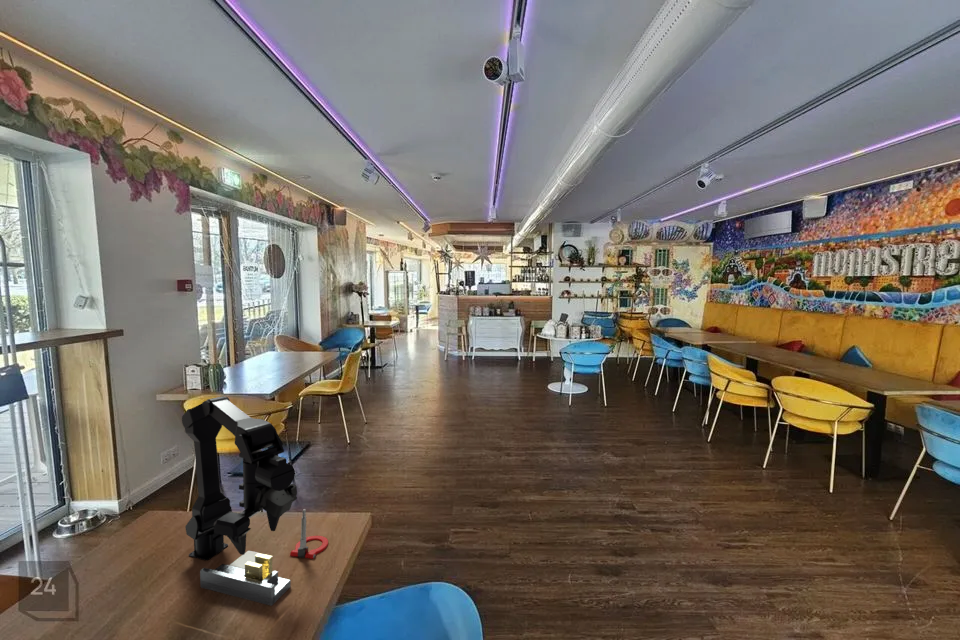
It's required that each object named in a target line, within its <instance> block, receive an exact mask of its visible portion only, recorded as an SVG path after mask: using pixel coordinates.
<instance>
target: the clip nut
mask: <svg viewBox="0 0 960 640" xmlns="http://www.w3.org/2000/svg"><path fill="white" fill-rule="evenodd" d="M259 553H260V552H258V554H257V555H256V556H255V563H253V562H249V561H248V562H247V563H246V564H245V577H247V578H251V579H255V580H258V581H263V580H264V579H265V578H266V577H267V576H268V575H269V574H270V573H272V572H273V557H272V556H273V555H271V556H268V555H269V554H267V555H263V554H264V553H262V554H259Z"/></svg>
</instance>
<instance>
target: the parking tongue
mask: <svg viewBox="0 0 960 640" xmlns="http://www.w3.org/2000/svg"><path fill="white" fill-rule="evenodd" d="M258 553H259V554H263V555H268V556H272V558H273V557H274V555H271V554H266V553H261V552H257V551H254V550H253V551H252V550H247V551H245V554H244V555H241V556H239V557H238V558H237V559H235V560H234V561H232V562H231V563H230V564H229V565H230V566H234V567H238V568H242V569H245V564H246V563H247V562H248V561H249V562H253V563H255V556H256V555H257V554H258Z"/></svg>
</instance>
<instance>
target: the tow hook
mask: <svg viewBox="0 0 960 640" xmlns="http://www.w3.org/2000/svg"><path fill="white" fill-rule="evenodd" d="M306 511H307V509H306V508H303V509H302V514H301V515H302V516H301V526H300V529H301V530H300V539H299V541H298V542H297V543H296V544H295V549H292V550H291V551H290V553H289V555H290V556H291V557H297V558H303V559H311V560H314V559H315V557H316V556H317V555H318V554H319V553H322V552H323V551H325V550H326V549H327V547H328V546H329V540H328V538H327V537H325V536H323V535H310V536H307V517H306V515H307V513H306ZM310 541H320V542H321V543H322V544H321V545H320V546H319V547H317V548H314V549H310V550H309V546H307V542H310Z"/></svg>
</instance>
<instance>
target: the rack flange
mask: <svg viewBox="0 0 960 640" xmlns="http://www.w3.org/2000/svg"><path fill="white" fill-rule="evenodd" d="M199 575H200V576H199V577H200V579H199V580H200V584H199V585H200V588H201V589H205V590H209V591H214V592H217V593H220V594H224V595H228V596H232V597H236V598H240V599H243V600H247V601H251V602H255V603H259V604H263V605H268V606H271V607H272V606H273V605H274V604H275V603H277V601H278V600H279V599H280V598H282V596H283V595H284V594H285V593H286V592H287V591H288V590H289V589H290V588H291V583H292V582H291V579H288V578H284V577H281V576H279V571H277V570H272V573H270V574H269V575H268V576H267V577H266V578H265V579H264V580H263V581H258V580H255V579H251V578H247V577H245V569H244V568H239V567H235V566H231V565H230V564H227V563H226V564H225V563H222V564H220V565H219V566H218V567H216V568H215V569H213V568H212V569H211V568H207V567H203V568H201V569H200V571H199Z"/></svg>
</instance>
